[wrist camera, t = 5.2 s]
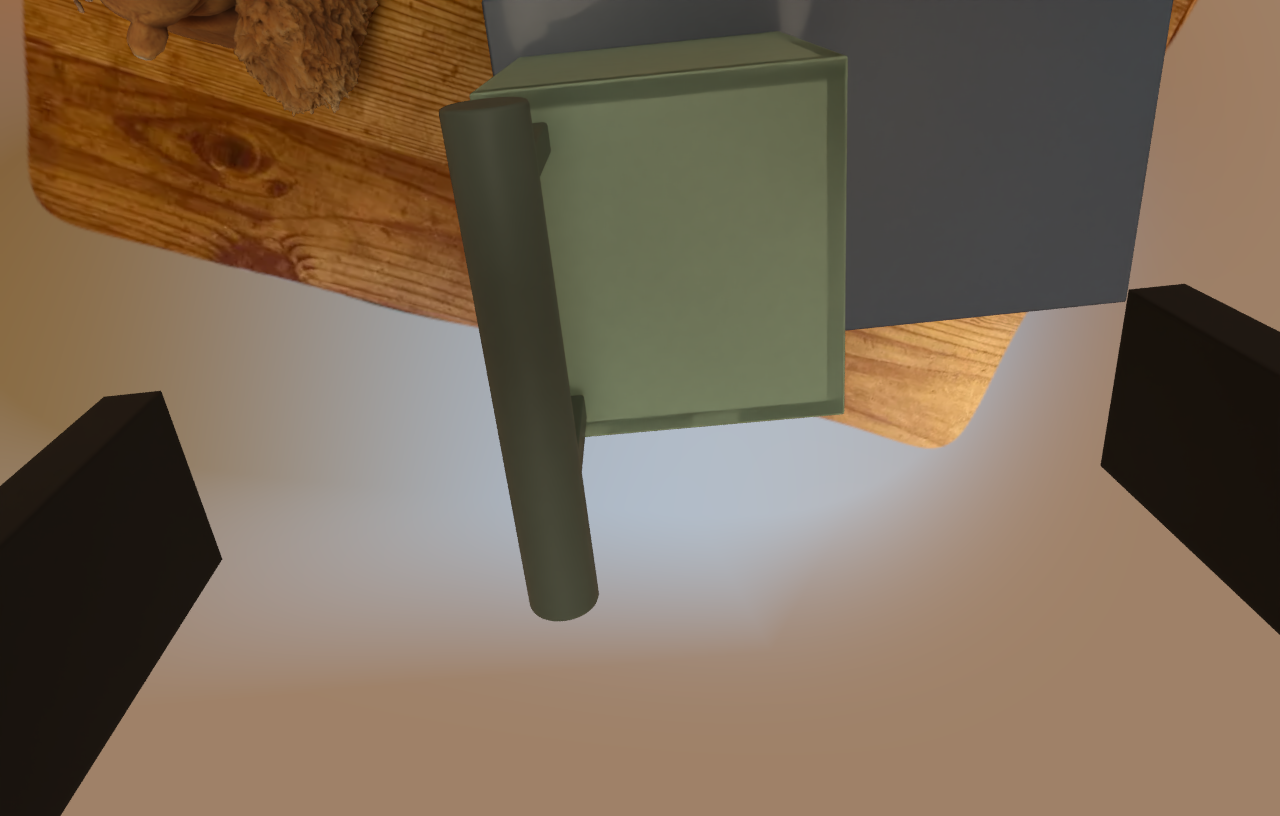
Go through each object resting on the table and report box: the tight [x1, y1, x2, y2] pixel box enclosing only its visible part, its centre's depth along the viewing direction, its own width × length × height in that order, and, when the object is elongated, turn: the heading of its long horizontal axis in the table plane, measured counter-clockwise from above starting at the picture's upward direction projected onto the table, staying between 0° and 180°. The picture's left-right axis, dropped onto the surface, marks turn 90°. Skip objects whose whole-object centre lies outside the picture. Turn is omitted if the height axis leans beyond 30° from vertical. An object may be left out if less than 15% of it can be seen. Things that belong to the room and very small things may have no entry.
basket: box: [439, 31, 848, 621], centre depth 26 cm, size 19×11×10 cm
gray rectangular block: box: [482, 0, 1173, 330], centre depth 43 cm, size 25×14×20 cm, turn 95°
